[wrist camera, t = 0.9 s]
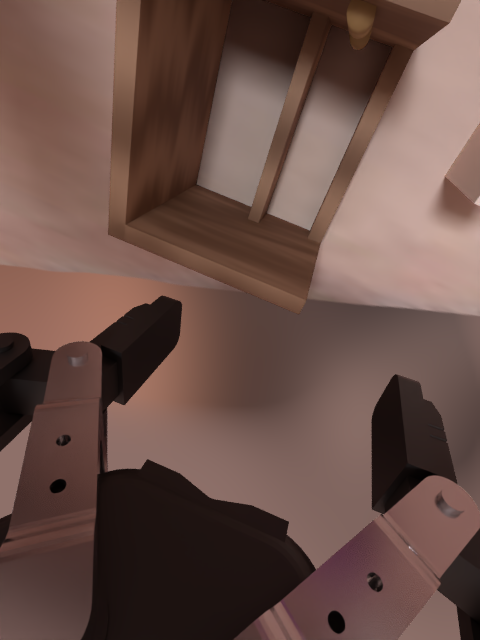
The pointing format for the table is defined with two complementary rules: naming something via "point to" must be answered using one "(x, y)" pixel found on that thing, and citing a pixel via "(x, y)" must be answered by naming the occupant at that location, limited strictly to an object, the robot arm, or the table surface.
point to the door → (468, 169)
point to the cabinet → (191, 125)
